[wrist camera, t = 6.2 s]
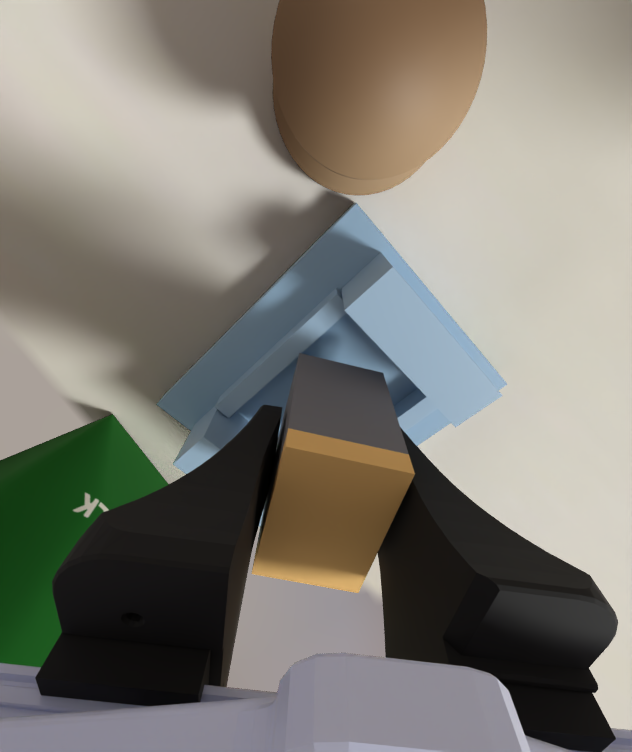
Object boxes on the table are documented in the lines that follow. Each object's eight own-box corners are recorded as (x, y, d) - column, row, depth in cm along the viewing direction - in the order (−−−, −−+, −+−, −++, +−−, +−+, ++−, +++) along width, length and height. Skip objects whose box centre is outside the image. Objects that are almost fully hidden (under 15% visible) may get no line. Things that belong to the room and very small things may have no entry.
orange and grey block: (383, 372, 13) (414, 473, 9) (347, 468, 15) (358, 592, 11) (299, 352, 13) (285, 446, 8) (274, 452, 15) (251, 573, 10)
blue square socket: (498, 375, 16) (540, 420, 13) (308, 507, 19) (305, 568, 16) (354, 202, 13) (363, 207, 10) (163, 395, 16) (126, 442, 13)
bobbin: (481, 102, 12) (556, 63, 8) (353, 228, 13) (363, 246, 10) (370, -71, 10) (398, -226, 6) (241, 98, 12) (200, 56, 8)
